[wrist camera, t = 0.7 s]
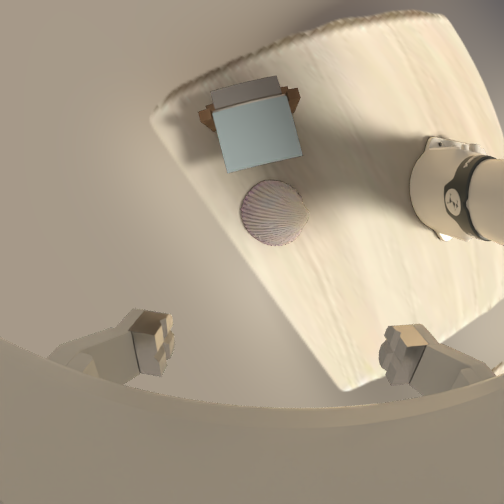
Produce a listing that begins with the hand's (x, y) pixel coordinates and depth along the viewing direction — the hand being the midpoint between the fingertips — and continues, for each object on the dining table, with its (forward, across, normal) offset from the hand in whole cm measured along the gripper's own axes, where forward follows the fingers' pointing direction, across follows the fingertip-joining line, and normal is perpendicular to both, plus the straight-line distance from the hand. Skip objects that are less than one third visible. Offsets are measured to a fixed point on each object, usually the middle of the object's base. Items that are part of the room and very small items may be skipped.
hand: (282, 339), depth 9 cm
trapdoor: (+30, +3, -12) cm, 33 cm away
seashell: (+34, -1, 0) cm, 34 cm away
